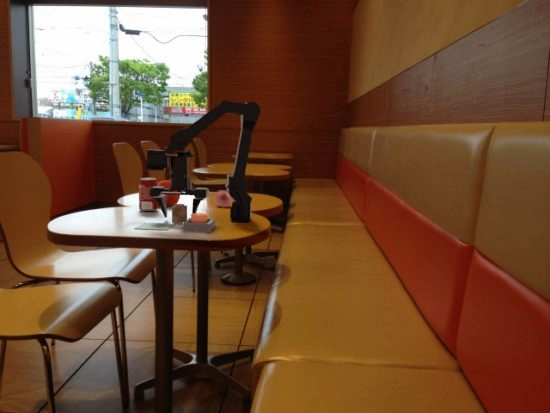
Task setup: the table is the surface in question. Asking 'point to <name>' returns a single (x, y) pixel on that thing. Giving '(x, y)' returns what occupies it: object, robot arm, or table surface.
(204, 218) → the button
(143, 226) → the board
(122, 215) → the table surface
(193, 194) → the robot arm
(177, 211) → the block
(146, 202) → the soda can
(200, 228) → the button box
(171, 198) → the apple
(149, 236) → the table surface
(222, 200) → the flower
